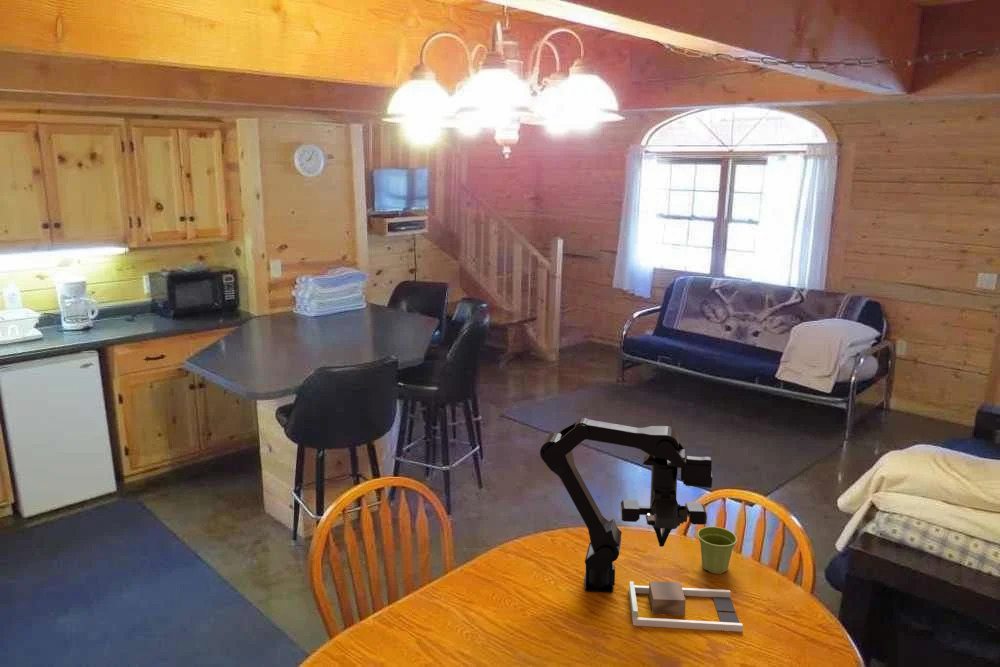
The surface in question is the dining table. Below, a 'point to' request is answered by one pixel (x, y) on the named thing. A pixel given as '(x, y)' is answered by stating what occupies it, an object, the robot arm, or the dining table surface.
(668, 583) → the walnut block
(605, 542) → the robot arm
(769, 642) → the dining table surface
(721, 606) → the pads
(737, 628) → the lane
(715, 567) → the plant pot
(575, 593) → the dining table surface
